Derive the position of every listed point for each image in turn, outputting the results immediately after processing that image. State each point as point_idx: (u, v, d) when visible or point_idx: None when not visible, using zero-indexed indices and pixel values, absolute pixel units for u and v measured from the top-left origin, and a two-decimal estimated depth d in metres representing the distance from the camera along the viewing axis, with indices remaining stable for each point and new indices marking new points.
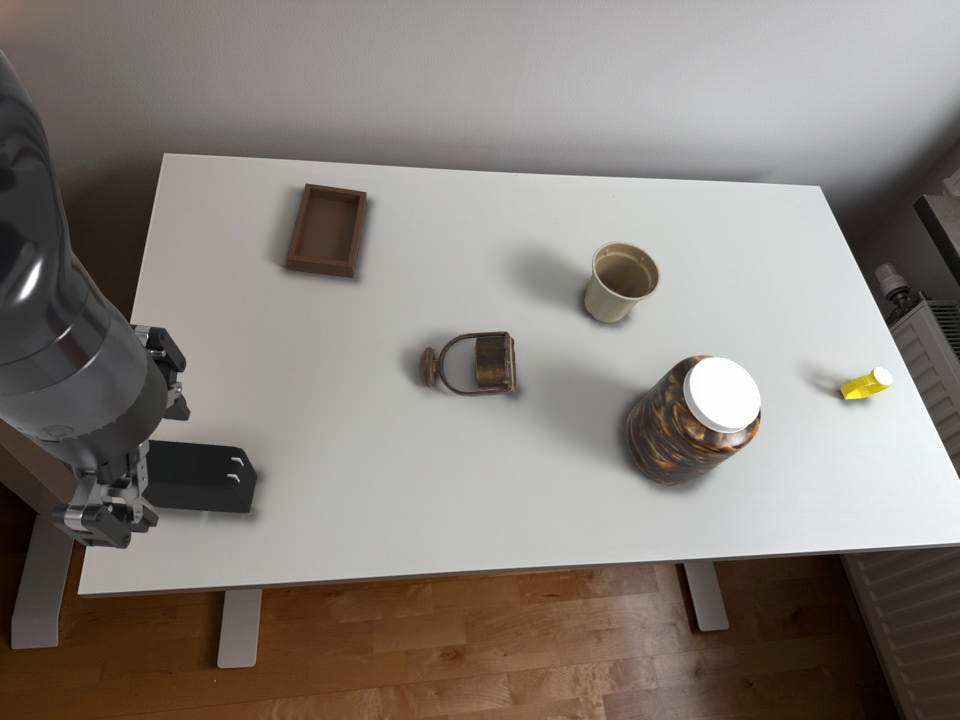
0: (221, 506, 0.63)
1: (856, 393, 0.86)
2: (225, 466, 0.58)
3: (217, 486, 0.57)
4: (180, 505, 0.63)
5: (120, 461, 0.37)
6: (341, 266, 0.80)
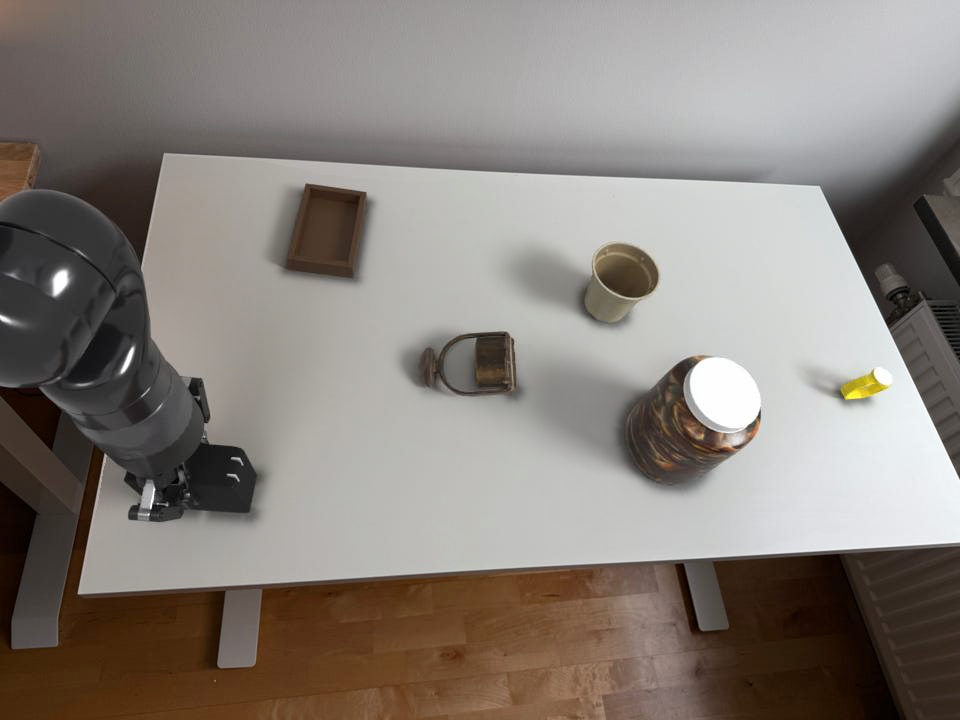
0: (221, 506, 0.63)
1: (856, 393, 0.86)
2: (225, 466, 0.58)
3: (217, 486, 0.57)
4: None
5: (169, 472, 0.51)
6: (341, 266, 0.80)
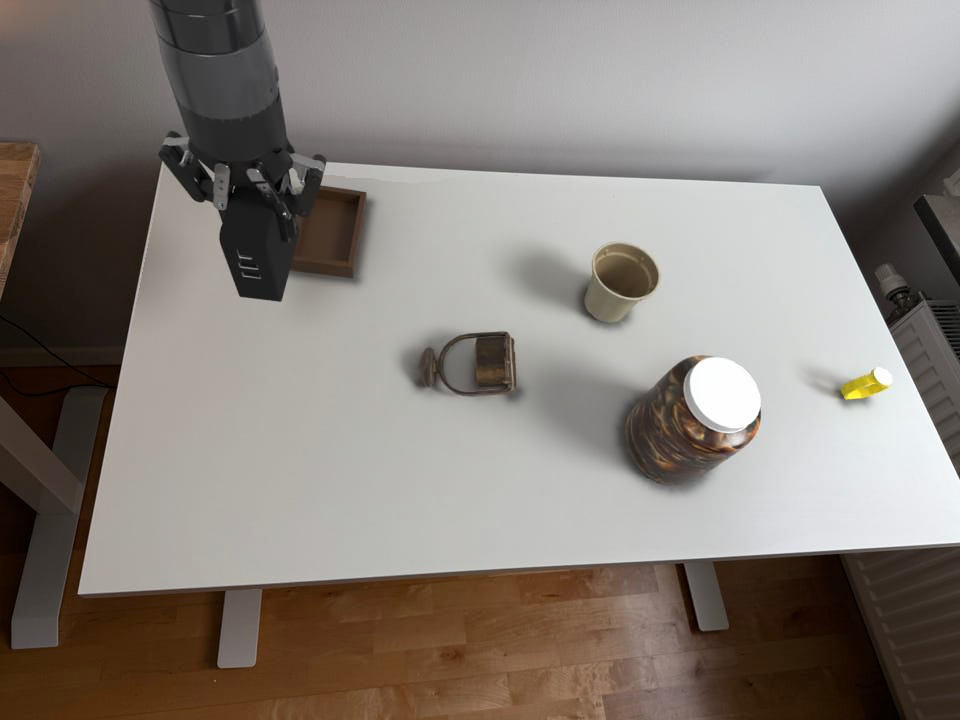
0: None
1: (856, 393, 0.86)
2: None
3: None
4: (285, 269, 0.62)
5: None
6: (341, 266, 0.80)
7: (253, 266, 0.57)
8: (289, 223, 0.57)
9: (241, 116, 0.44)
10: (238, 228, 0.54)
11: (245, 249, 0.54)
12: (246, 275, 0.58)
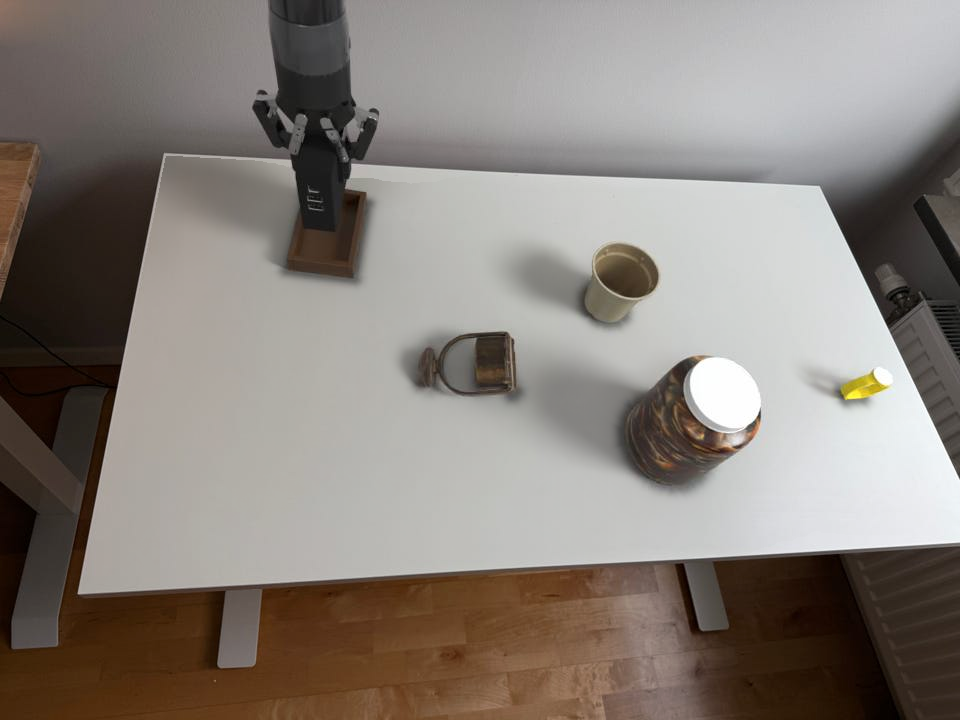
0: None
1: (856, 393, 0.86)
2: None
3: None
4: (339, 206, 0.77)
5: None
6: (341, 266, 0.80)
7: (318, 199, 0.72)
8: (346, 166, 0.72)
9: (325, 73, 0.59)
10: (310, 167, 0.69)
11: (314, 183, 0.69)
12: (311, 208, 0.73)
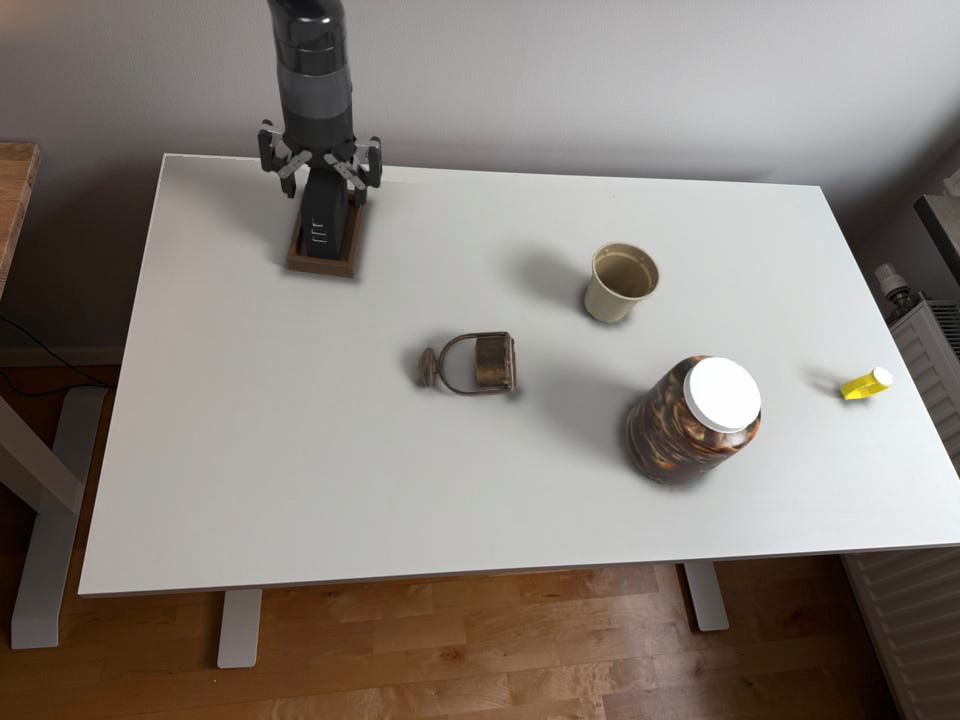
0: (345, 209, 0.83)
1: (856, 393, 0.86)
2: None
3: None
4: (341, 236, 0.82)
5: None
6: (341, 266, 0.80)
7: (322, 232, 0.77)
8: (362, 193, 0.76)
9: (329, 116, 0.63)
10: (314, 203, 0.74)
11: (318, 218, 0.74)
12: (315, 239, 0.78)
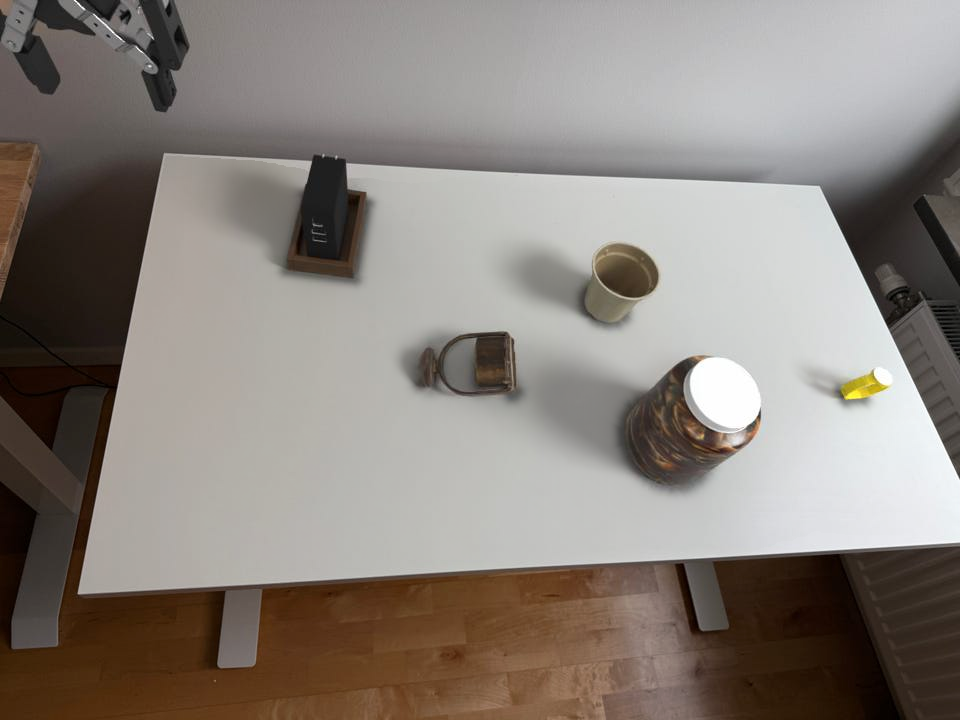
0: (345, 209, 0.83)
1: (856, 393, 0.86)
2: (329, 159, 0.78)
3: (344, 164, 0.78)
4: (341, 236, 0.82)
5: None
6: (341, 266, 0.80)
7: (322, 232, 0.77)
8: (160, 82, 0.46)
9: None
10: (314, 203, 0.74)
11: (318, 218, 0.74)
12: (315, 239, 0.78)
